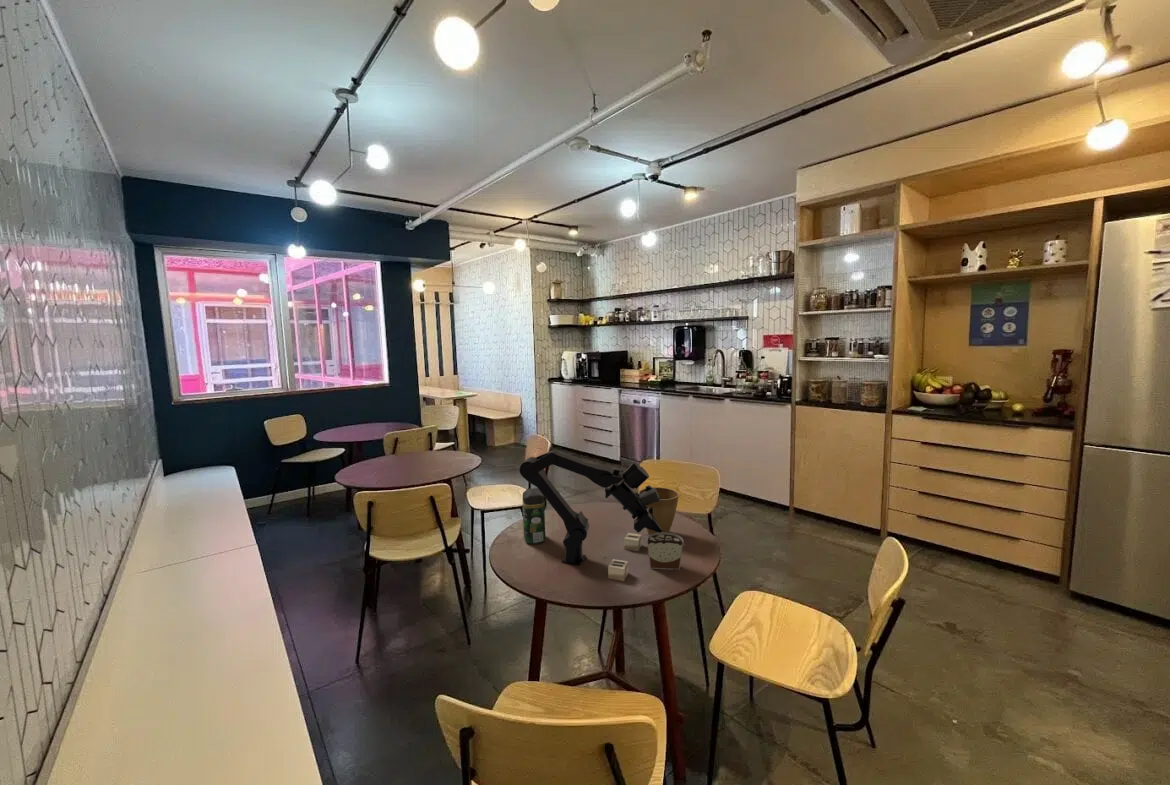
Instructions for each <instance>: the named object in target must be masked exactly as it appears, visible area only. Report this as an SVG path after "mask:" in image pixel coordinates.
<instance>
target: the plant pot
mask: <svg viewBox="0 0 1170 785" xmlns="http://www.w3.org/2000/svg"><path fill="white" fill-rule="evenodd" d="M651 487H652V486H651ZM652 488H656V490H657V493H658V495H659V499H660V500H659V501H658V502H654V503H652V504H649V505H647V508H648V509H650V508H651V507H653V516H654V518H655V519H656V521H657V522H658V524H659V526H660V527H661V529H662V532H668V533H670V531H671V528H672V526H673V523H674V519H675V516H676V511H677V508H678V502H679V495H680V494H679V492H678V491H676V490H675V489H671V488H668V487H661V486H660V487H659V486H658V487H655V486H654V487H652ZM637 492H638V493H639V494H642V493H643V492H645V488H642V489H640V490H638V491H637ZM647 508H646V509H647ZM645 529H646V531H647V534H648V536H649V535H651V534H653V533H658V532H656V531H653V530H650V529H647V528H645Z"/></svg>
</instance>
